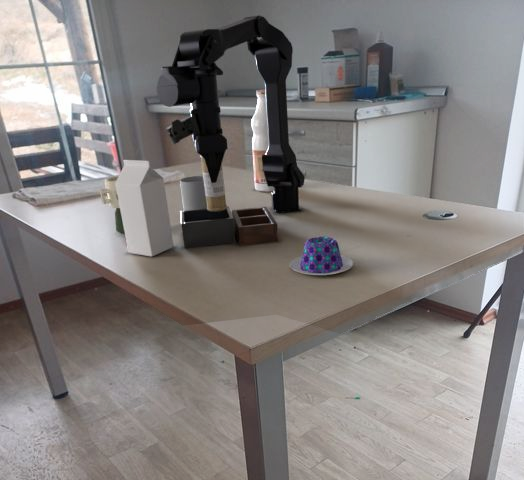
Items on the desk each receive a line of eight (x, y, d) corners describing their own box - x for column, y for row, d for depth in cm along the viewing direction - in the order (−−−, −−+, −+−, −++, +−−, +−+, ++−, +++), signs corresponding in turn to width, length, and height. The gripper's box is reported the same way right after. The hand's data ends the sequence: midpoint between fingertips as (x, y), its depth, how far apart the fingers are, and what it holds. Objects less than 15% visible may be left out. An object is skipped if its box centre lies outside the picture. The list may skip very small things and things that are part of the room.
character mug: (116, 240, 124) (104, 184, 118) (103, 234, 129) (91, 180, 122) (156, 229, 130) (147, 176, 123) (142, 225, 135) (133, 172, 128)
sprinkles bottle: (225, 205, 119) (218, 143, 113) (228, 210, 116) (221, 146, 109) (205, 208, 119) (197, 145, 112) (208, 213, 115) (200, 149, 108)
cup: (211, 222, 133) (206, 182, 128) (180, 222, 134) (175, 182, 130) (220, 213, 140) (216, 175, 135) (191, 214, 142) (186, 176, 137)
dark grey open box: (230, 229, 126) (228, 206, 124) (235, 242, 116) (233, 218, 114) (183, 233, 125) (180, 210, 122) (184, 248, 115) (181, 223, 112)
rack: (267, 222, 129) (266, 206, 127) (278, 241, 115) (277, 223, 113) (233, 226, 128) (231, 210, 126) (240, 245, 114) (238, 227, 112)
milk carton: (152, 257, 111) (136, 164, 102) (128, 253, 114) (110, 162, 105) (174, 247, 116) (160, 157, 107) (150, 244, 119) (135, 156, 110)
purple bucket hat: (329, 283, 92) (329, 255, 89) (277, 271, 99) (275, 244, 96) (365, 263, 99) (366, 236, 97) (314, 253, 107) (313, 228, 104)
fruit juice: (249, 188, 166) (242, 90, 152) (275, 184, 169) (270, 88, 156) (264, 193, 158) (258, 91, 145) (290, 188, 162) (287, 88, 148)
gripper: (165, 102, 114) (175, 176, 121) (164, 108, 97) (176, 192, 105) (216, 98, 115) (223, 171, 122) (223, 103, 99) (231, 187, 106)
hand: (213, 180), depth 114 cm, fingers closed on sprinkles bottle, 4 cm apart
